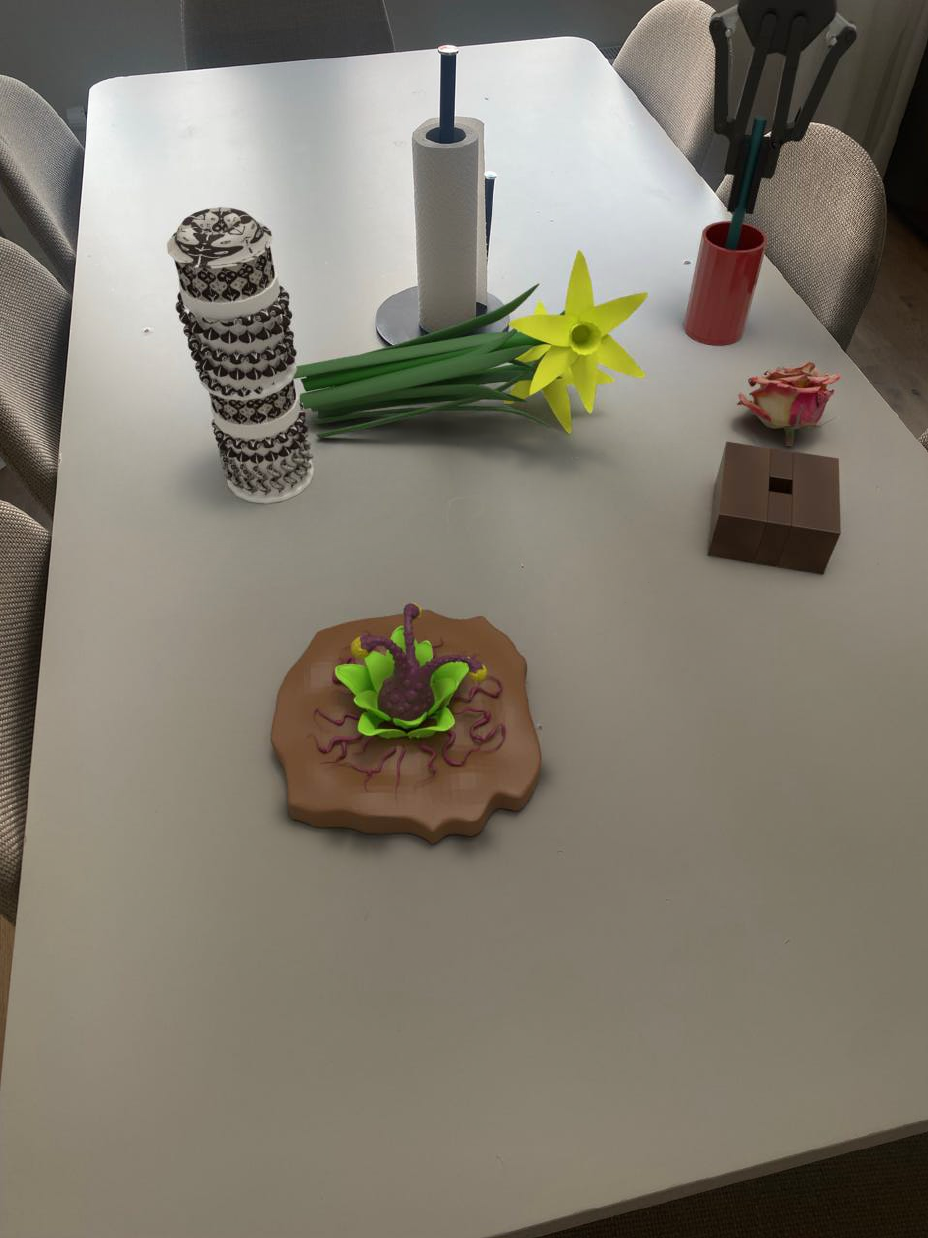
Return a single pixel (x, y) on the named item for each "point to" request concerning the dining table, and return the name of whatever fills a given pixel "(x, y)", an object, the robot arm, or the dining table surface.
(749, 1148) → the dining table surface
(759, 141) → the straw
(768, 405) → the flower
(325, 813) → the plant
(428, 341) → the daffodil flowers
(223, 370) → the decorative candle
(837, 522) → the holder
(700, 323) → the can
